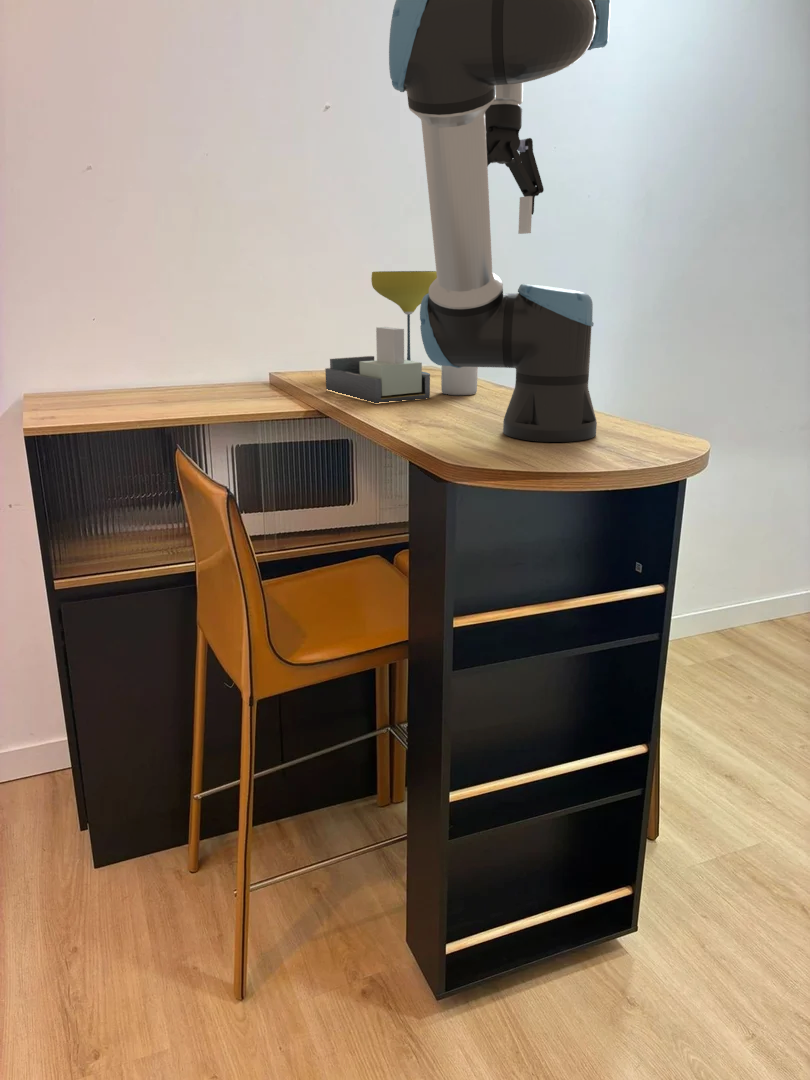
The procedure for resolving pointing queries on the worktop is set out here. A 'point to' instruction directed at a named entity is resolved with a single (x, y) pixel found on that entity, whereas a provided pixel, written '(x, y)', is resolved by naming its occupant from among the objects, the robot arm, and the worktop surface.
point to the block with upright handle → (393, 364)
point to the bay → (365, 382)
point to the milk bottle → (459, 380)
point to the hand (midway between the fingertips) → (497, 232)
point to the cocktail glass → (404, 291)
